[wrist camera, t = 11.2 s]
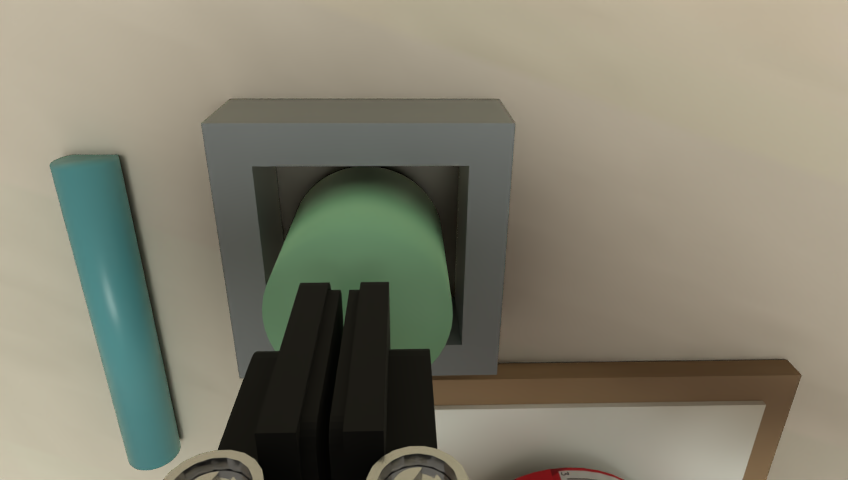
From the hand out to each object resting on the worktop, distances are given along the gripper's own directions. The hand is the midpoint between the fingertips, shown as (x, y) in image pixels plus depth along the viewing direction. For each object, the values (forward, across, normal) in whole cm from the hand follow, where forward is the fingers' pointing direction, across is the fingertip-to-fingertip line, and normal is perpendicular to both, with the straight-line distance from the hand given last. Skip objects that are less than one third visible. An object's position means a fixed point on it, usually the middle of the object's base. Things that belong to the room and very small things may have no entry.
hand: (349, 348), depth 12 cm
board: (+6, -6, +11) cm, 14 cm away
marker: (+6, +8, +3) cm, 10 cm away
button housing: (+6, 0, 0) cm, 6 cm away
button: (+6, 0, 0) cm, 6 cm away
